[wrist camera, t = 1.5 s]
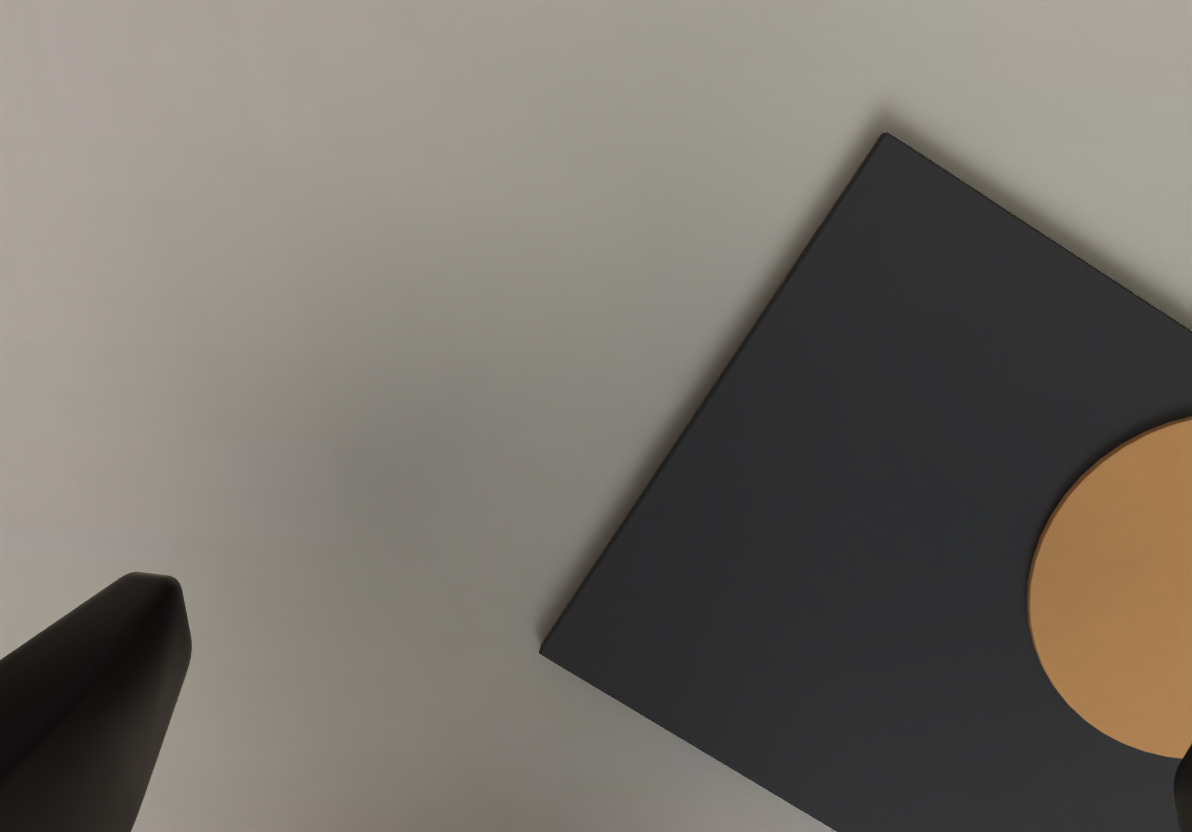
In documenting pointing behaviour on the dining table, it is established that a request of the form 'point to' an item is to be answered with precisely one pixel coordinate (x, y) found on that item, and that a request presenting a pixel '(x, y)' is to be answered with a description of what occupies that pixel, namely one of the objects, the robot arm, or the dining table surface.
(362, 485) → the dining table surface
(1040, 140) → the dining table surface
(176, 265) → the dining table surface
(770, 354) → the placemat
